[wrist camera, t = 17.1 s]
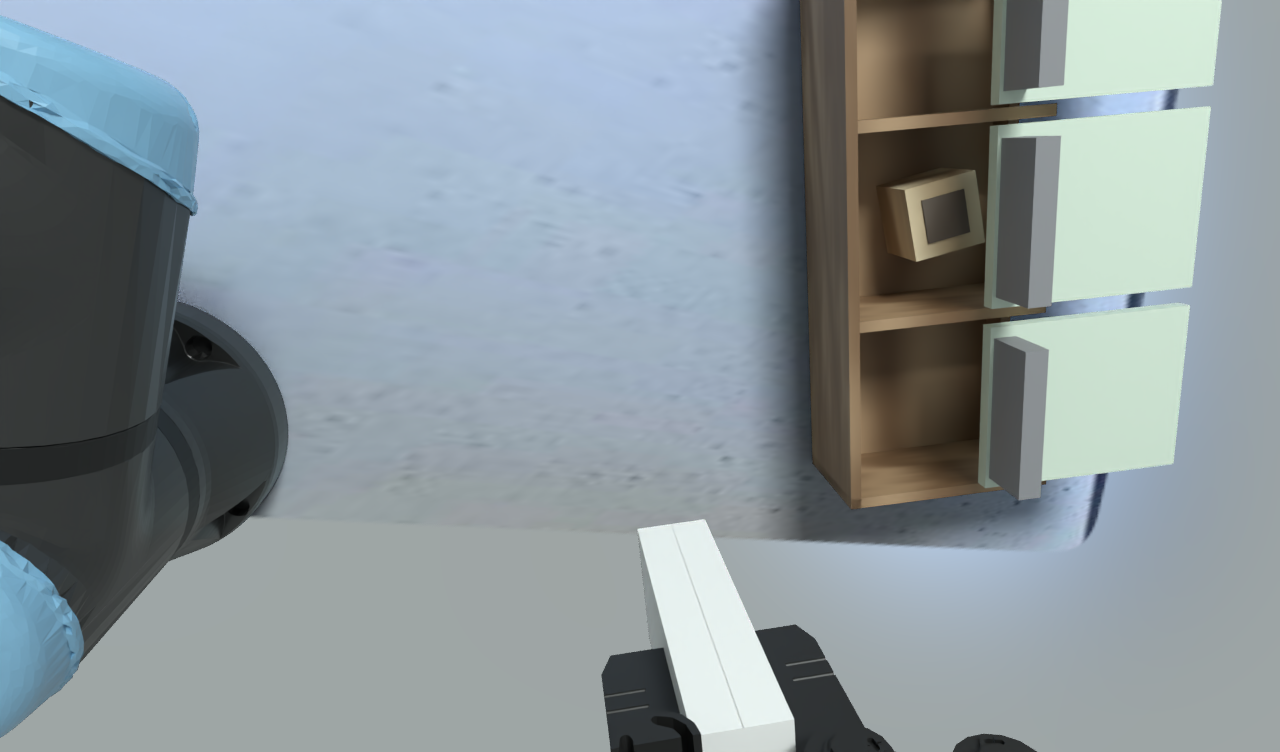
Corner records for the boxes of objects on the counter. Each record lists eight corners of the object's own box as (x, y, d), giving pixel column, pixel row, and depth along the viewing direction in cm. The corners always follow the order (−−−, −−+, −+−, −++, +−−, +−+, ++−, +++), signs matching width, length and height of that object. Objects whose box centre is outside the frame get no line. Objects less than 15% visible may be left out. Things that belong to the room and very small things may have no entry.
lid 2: (983, 306, 44) (1023, 321, 40) (989, 126, 41) (1033, 124, 38) (1181, 284, 45) (1236, 297, 41) (1198, 107, 42) (1260, 104, 39)
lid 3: (977, 482, 47) (1014, 511, 43) (983, 324, 44) (1022, 340, 41) (1163, 458, 48) (1214, 485, 44) (1179, 302, 45) (1234, 316, 42)
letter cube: (887, 252, 49) (917, 262, 45) (875, 186, 48) (905, 190, 44) (952, 233, 50) (987, 241, 46) (942, 167, 48) (977, 169, 44)
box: (812, 463, 54) (851, 509, 47) (797, -73, 45) (842, -110, 38) (984, 442, 55) (1045, 484, 48) (1002, -87, 46) (1081, -125, 39)
